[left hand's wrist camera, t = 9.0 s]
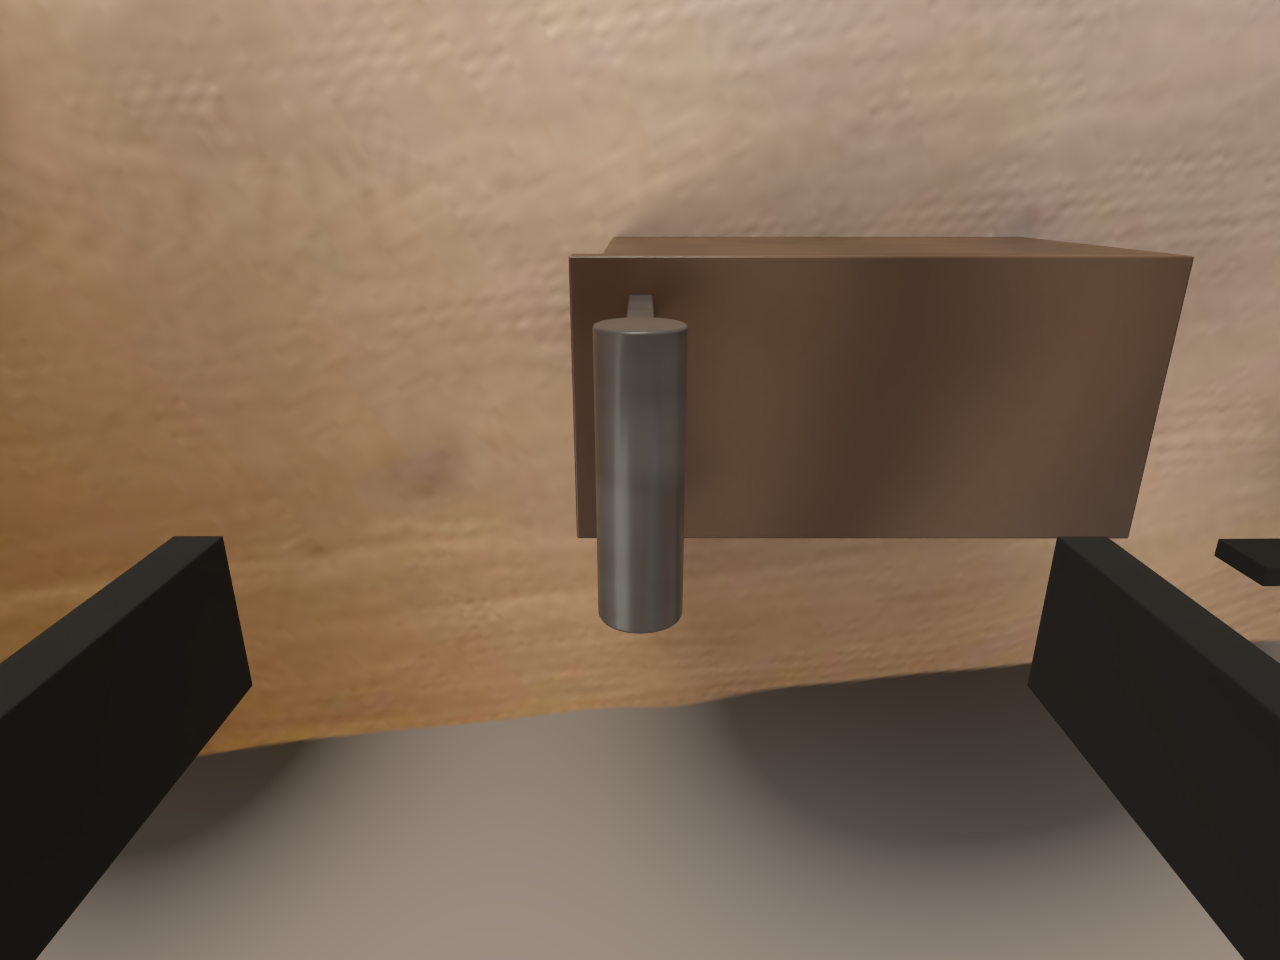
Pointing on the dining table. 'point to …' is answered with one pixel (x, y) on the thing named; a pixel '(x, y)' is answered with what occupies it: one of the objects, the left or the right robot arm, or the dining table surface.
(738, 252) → the chest
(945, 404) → the lid
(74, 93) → the dining table surface
